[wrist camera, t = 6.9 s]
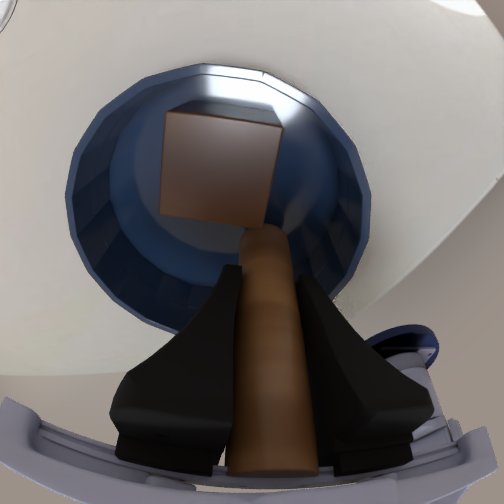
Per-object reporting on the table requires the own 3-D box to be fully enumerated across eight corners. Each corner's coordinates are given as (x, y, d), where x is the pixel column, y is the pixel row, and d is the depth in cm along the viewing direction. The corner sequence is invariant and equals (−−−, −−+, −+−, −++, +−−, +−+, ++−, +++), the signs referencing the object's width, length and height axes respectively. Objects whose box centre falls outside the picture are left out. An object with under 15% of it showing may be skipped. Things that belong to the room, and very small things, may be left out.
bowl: (306, 298, 19) (315, 352, 16) (115, 269, 18) (89, 318, 14) (369, 100, 12) (412, 113, 9) (112, 63, 11) (62, 66, 7)
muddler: (282, 266, 16) (302, 486, 7) (236, 259, 15) (219, 485, 6) (293, 226, 14) (334, 468, 5) (243, 219, 14) (228, 468, 5)
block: (260, 190, 15) (262, 230, 11) (181, 179, 14) (158, 215, 11) (276, 112, 12) (284, 126, 9) (189, 100, 12) (164, 110, 9)
